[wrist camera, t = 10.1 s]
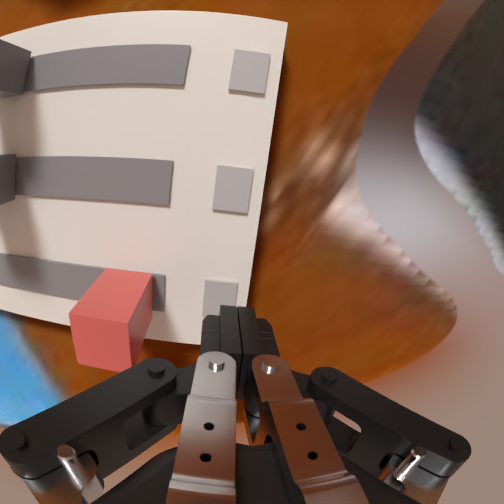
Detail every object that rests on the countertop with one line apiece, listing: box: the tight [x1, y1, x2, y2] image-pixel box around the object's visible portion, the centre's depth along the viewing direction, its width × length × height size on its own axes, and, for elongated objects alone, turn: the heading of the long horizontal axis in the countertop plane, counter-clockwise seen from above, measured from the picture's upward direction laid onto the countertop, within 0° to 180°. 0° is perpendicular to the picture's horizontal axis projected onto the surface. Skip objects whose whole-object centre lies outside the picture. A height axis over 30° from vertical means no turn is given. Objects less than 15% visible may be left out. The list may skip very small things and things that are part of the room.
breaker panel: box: [0, 11, 288, 345], centre depth 11 cm, size 20×17×7 cm
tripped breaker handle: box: [69, 268, 152, 372], centre depth 12 cm, size 2×2×4 cm
